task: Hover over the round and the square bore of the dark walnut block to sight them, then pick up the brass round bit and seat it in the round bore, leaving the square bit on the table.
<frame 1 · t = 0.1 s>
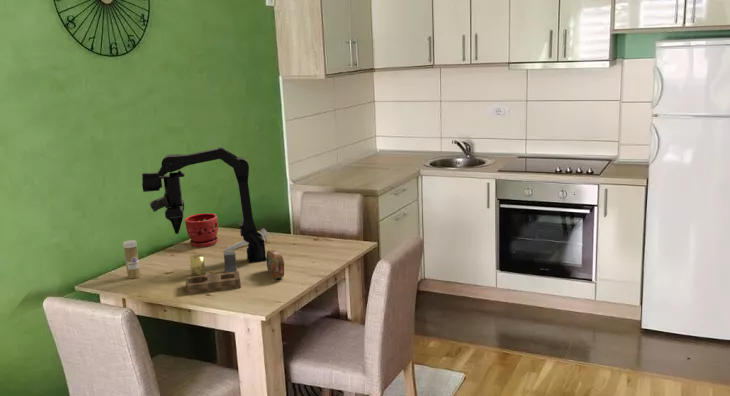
hand: (177, 230, 252), 15 cm above the table, tool pointing down, fingers open, 9 cm apart
plant pot: (203, 244, 286), on the table
caliper: (246, 247, 280), on the table
square bit: (231, 271, 249), on the table
tin: (276, 275, 242), on the table
round bit: (198, 275, 246), on the table
bore block: (213, 286, 233), on the table
sprinkles bottle: (134, 277, 248), on the table
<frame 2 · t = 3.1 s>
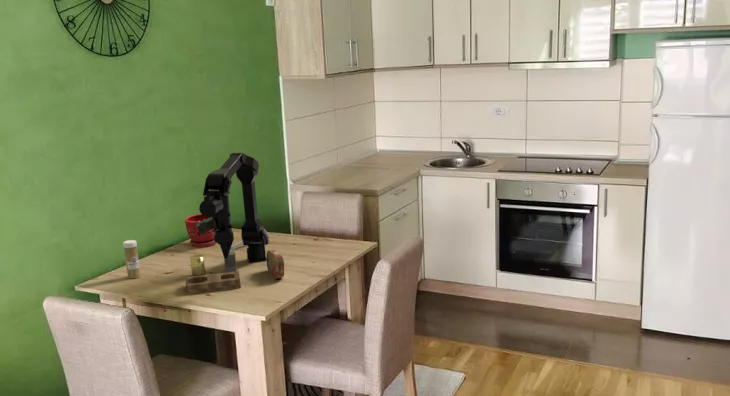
hand: (225, 254, 232), 11 cm above the table, tool pointing down, fingers open, 9 cm apart
nothing on the table moved.
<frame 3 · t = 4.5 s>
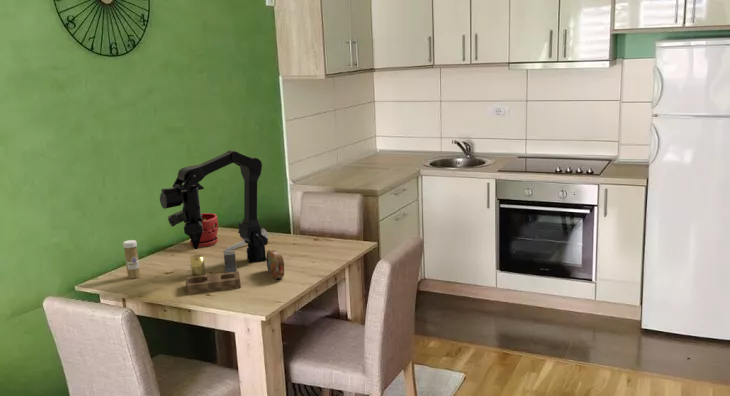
hand: (195, 245, 244), 11 cm above the table, tool pointing down, fingers open, 9 cm apart
nothing on the table moved.
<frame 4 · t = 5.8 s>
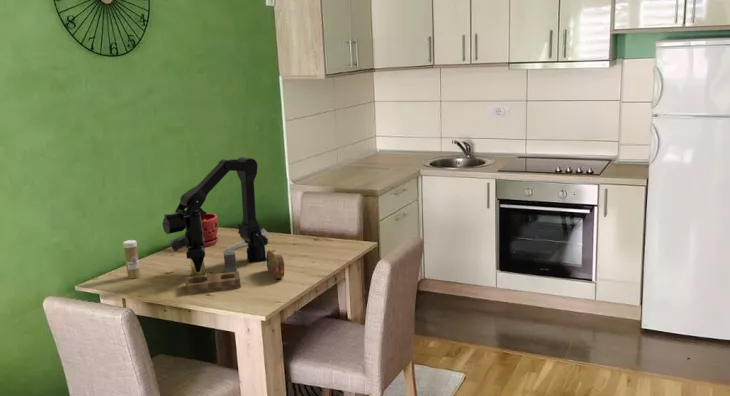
hand: (198, 269, 246), 2 cm above the table, tool pointing down, fingers closed on round bit, 5 cm apart
round bit: (198, 275, 246), on the table, touching gripper
everything else where it was.
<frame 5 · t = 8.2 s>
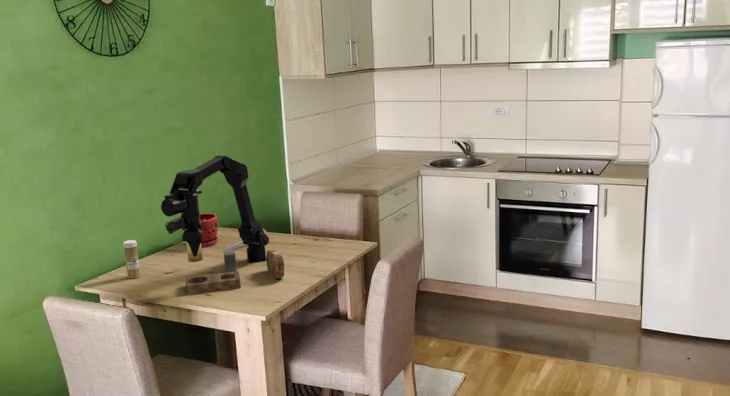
hand: (195, 254, 230), 12 cm above the table, tool pointing down, fingers closed on round bit, 5 cm apart
round bit: (195, 259, 230), point 10 cm above the table, touching gripper
everything else where it was.
when the fingers open (4 cm above the table, at t = 10.4 s): round bit drops 2 cm, resting in bore block.
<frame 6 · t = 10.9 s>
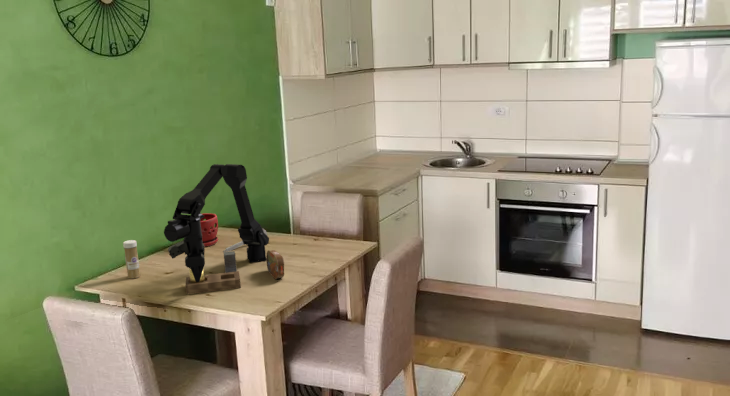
hand: (197, 277, 231), 4 cm above the table, tool pointing down, fingers open, 9 cm apart
round bit: (198, 288, 232), resting in bore block
everything else where it was.
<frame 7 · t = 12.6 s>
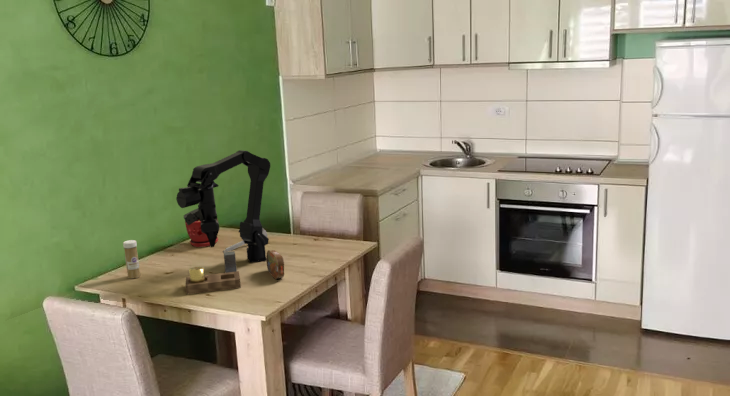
hand: (212, 243, 244), 11 cm above the table, tool pointing down, fingers open, 9 cm apart
nothing on the table moved.
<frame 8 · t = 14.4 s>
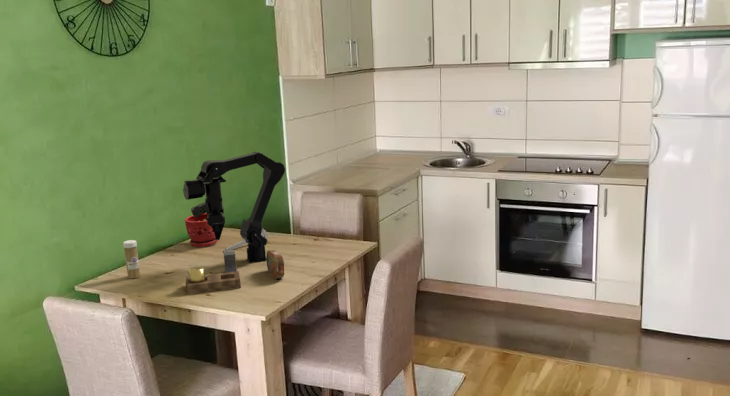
hand: (217, 236, 251), 12 cm above the table, tool pointing down, fingers open, 9 cm apart
nothing on the table moved.
at the end: round bit 0.1 cm from the target spot on the bore block, point 0.0 cm above the bore block's base; round bit tilted 0°; the gripper is holding nothing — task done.
